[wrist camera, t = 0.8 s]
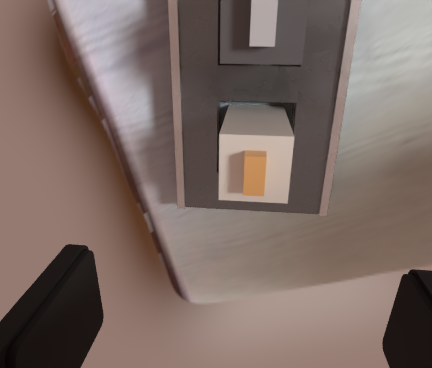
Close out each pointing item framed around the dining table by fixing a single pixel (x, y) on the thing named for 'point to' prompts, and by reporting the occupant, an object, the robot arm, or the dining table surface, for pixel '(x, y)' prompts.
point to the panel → (259, 92)
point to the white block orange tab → (255, 154)
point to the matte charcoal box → (263, 31)
